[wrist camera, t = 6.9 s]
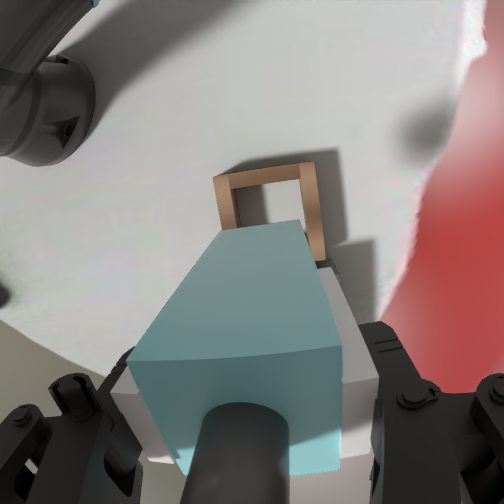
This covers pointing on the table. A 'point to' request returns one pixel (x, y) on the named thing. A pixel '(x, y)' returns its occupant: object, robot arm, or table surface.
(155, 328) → the plug
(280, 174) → the square wooden frame
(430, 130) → the table surface
